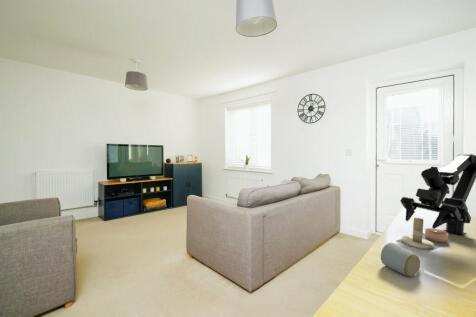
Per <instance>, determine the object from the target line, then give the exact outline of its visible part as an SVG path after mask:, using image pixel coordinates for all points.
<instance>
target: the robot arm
mask: <svg viewBox="0 0 476 317" xmlns="http://www.w3.org/2000/svg"><path fill="white" fill-rule="evenodd" d="M460 174H461V176H460ZM420 176H421V177H422V179H423V180H424V183H425V185H426V186H428V187H429V188H428V189H424V188H417V190H416V193H415V196H416V198H418V201H419V202H417V201H415V200H414V198H413V197H407V196H403V197H401V199H399V201H400V204H401V205H402V207H403V208H404V209H405V210H406V211H405V221H406V222H409V221H410V219H412V217H413V215H414V214H415V213H416V210H417V208H419V209H423V210H427V211H430V212H431V211H432V212H435V213H438V215H437V217H436V218H435V220H434V222H433V224H432V227H431V228H433V229H438V228H439V227H440V226H442V225H444V224H446V225H445V229H443V231H445V232H447V233H448V234H452V235H455V236H460V237H462V236H465V235H468V233H467V232H465V224H471V221H472V216H471V215H470V212H469V211H468V210H469V208H468V206H467V204H466V202H467V200H468V197H469V196H470V194H471V193H470V192H471V190H472V188H473V186H474V183H475V181H476V155H475V154H472V153H459V154H458V155H457V157H456V158H454V160H453V161H452V162H450V163H449V164H448V165H447V166H446V167H441V168H440V167H439V168H438V167H437V166H431V167H430V168H426V169H424V170H422V171H421V173H420ZM454 185H456V187H455V189H454V191H453V193H452V195H451V197H446V195H450V187H449V186H454Z"/></svg>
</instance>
